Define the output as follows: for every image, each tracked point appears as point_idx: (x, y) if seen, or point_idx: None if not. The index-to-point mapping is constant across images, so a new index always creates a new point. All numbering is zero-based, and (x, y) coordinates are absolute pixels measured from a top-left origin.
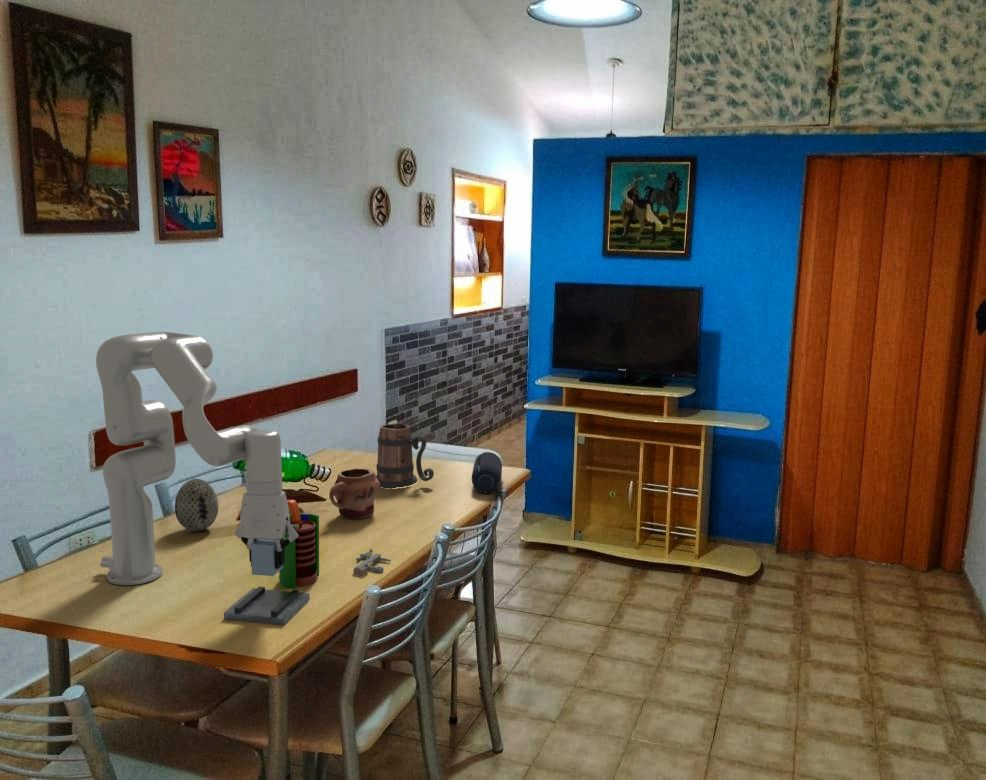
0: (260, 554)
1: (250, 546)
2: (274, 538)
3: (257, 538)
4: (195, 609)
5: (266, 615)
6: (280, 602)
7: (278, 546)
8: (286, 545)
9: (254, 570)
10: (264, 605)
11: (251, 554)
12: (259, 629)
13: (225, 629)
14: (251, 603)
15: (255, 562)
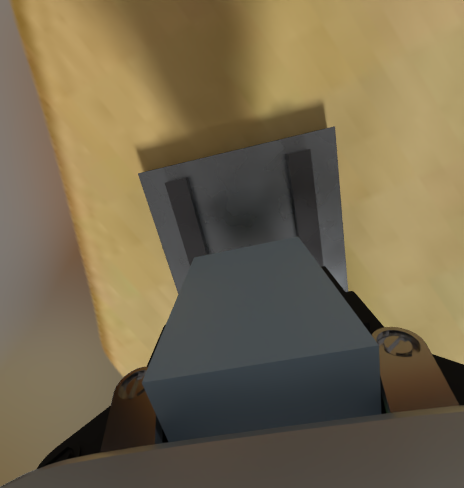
0: (259, 301)
1: (389, 351)
2: (45, 479)
3: (313, 426)
4: (451, 149)
5: (198, 169)
6: (200, 240)
7: (132, 404)
8: (78, 433)
9: (288, 246)
10: (248, 224)
11: (333, 287)
12: (187, 117)
13: (280, 67)
14: (293, 221)
15: (290, 266)
